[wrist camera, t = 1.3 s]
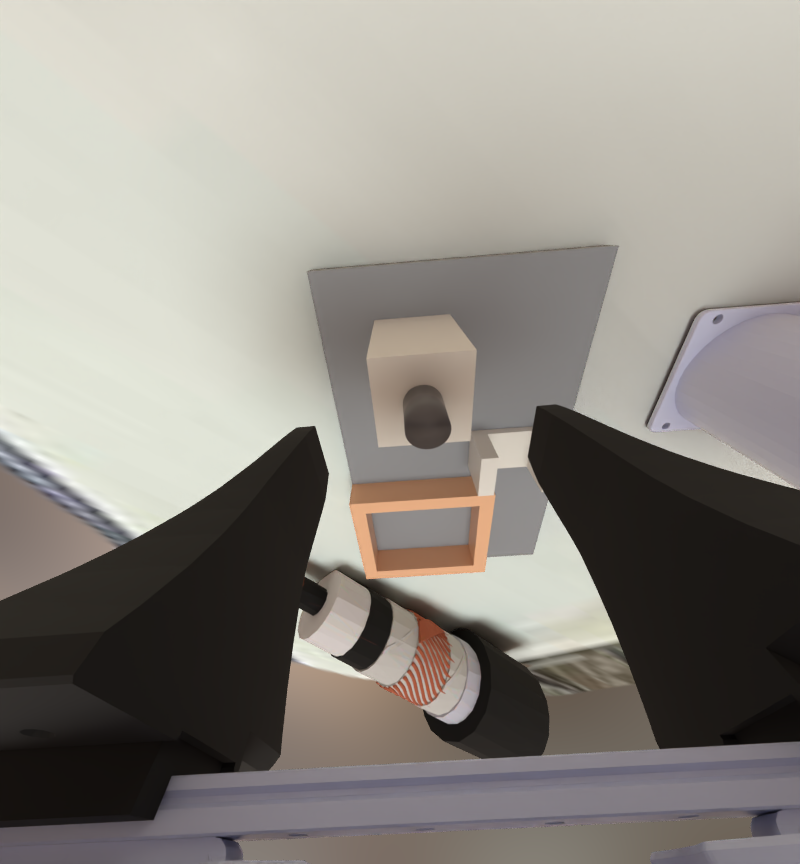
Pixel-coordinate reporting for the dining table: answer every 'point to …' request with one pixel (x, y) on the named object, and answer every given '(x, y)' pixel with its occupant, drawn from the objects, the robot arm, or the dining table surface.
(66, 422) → the dining table surface
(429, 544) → the board
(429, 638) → the cable
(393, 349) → the connector
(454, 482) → the frame
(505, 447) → the clip
